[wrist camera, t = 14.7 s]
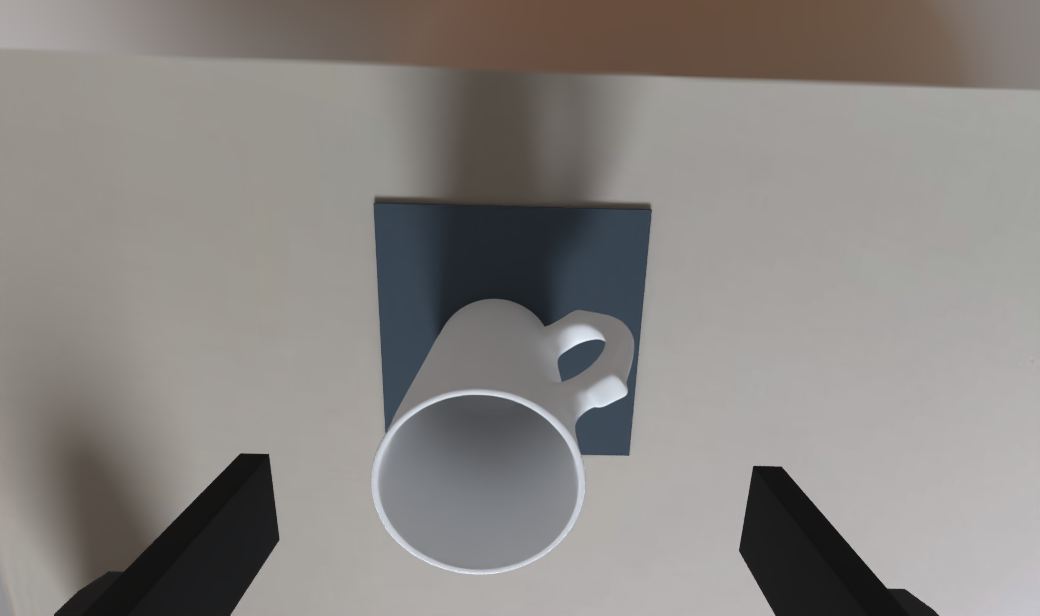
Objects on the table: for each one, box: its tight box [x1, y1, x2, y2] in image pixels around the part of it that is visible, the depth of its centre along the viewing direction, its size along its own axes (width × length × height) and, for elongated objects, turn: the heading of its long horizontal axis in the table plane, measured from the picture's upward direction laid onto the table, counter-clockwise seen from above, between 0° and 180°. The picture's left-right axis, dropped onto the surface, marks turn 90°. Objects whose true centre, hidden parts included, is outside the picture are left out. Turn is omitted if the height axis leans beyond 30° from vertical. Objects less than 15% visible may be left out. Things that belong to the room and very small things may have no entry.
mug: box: [371, 299, 634, 574], centre depth 21 cm, size 10×7×12 cm, turn 123°
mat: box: [374, 203, 652, 456], centre depth 27 cm, size 14×14×1 cm
